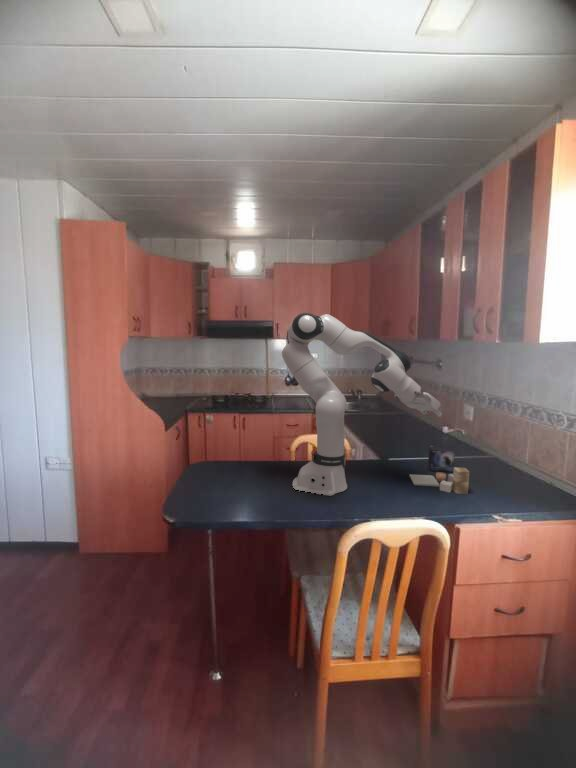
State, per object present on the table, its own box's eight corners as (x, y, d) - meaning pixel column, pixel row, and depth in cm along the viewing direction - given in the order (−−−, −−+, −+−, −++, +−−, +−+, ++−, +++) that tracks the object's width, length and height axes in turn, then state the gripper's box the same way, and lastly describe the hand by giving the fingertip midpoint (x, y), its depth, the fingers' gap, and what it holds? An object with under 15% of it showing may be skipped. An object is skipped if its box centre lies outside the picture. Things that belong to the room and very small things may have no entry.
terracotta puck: (437, 482, 156) (437, 475, 156) (434, 478, 160) (435, 471, 160) (446, 482, 156) (447, 475, 155) (444, 478, 160) (444, 472, 159)
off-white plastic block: (439, 490, 148) (440, 483, 147) (442, 487, 151) (442, 480, 151) (450, 493, 145) (450, 485, 145) (452, 489, 148) (453, 482, 148)
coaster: (414, 485, 152) (414, 483, 152) (409, 476, 162) (409, 474, 162) (439, 486, 151) (439, 484, 151) (432, 477, 161) (432, 475, 161)
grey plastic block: (453, 484, 154) (453, 477, 154) (447, 480, 158) (448, 474, 157) (461, 483, 154) (462, 477, 154) (456, 480, 158) (456, 473, 158)
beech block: (455, 493, 145) (457, 471, 144) (452, 488, 149) (453, 467, 148) (467, 493, 144) (469, 472, 143) (463, 489, 149) (465, 467, 148)
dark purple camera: (429, 471, 168) (430, 449, 167) (427, 466, 175) (428, 445, 173) (454, 473, 166) (455, 451, 164) (451, 468, 172) (452, 447, 171)
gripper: (428, 386, 134) (454, 410, 136) (401, 385, 154) (423, 406, 156) (418, 399, 133) (444, 423, 135) (392, 396, 153) (414, 417, 155)
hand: (433, 414), depth 146 cm, fingers open, 8 cm apart
